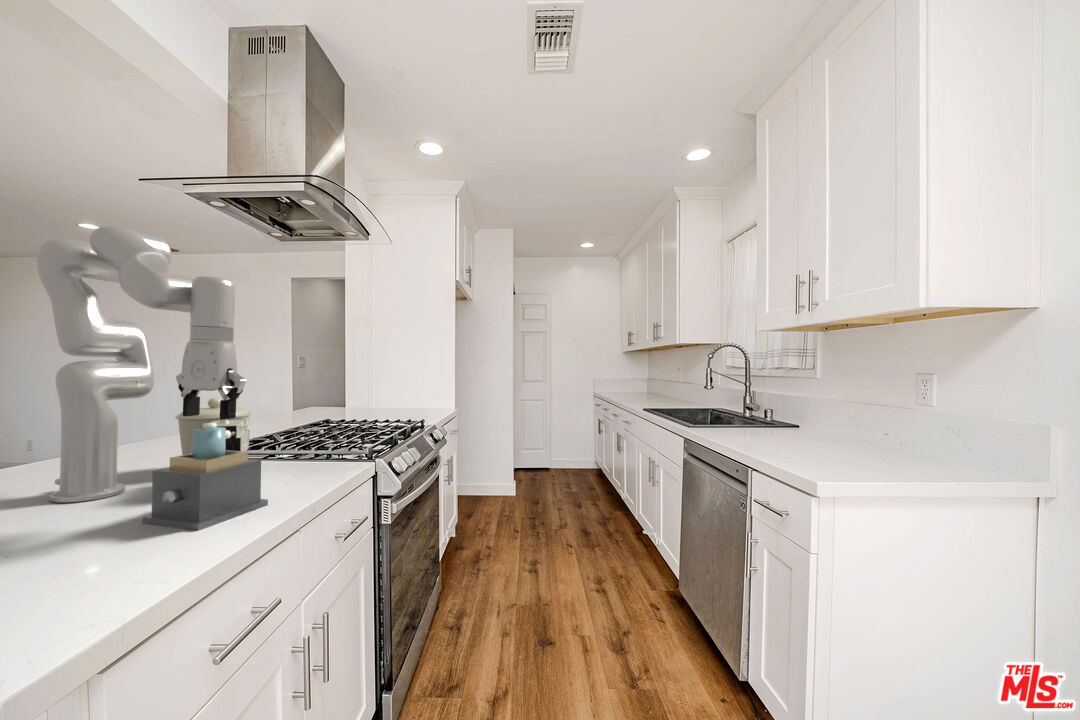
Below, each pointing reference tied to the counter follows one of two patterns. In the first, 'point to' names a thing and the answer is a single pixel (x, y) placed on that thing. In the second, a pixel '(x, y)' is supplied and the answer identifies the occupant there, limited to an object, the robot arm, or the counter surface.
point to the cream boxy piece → (235, 434)
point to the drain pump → (209, 441)
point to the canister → (205, 416)
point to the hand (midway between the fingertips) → (209, 417)
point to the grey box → (205, 490)
